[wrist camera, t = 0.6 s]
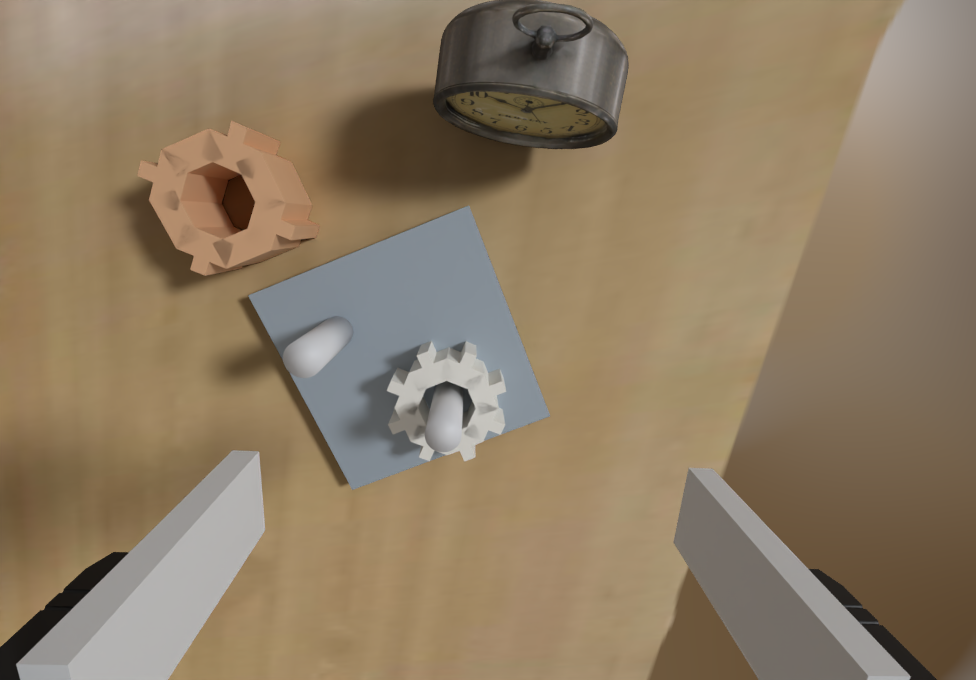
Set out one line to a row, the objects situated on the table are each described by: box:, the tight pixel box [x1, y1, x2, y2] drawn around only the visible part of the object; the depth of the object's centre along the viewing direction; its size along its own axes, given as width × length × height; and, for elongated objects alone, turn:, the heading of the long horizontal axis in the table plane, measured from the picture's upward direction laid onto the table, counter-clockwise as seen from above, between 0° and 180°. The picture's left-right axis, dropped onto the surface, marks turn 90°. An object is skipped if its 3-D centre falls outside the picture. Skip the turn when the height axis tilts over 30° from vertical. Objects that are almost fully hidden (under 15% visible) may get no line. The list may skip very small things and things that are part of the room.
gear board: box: [248, 206, 550, 490], centre depth 33 cm, size 18×18×9 cm
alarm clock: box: [433, 0, 629, 149], centre depth 25 cm, size 11×5×16 cm, turn 81°
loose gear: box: [137, 121, 320, 276], centre depth 32 cm, size 8×8×5 cm
